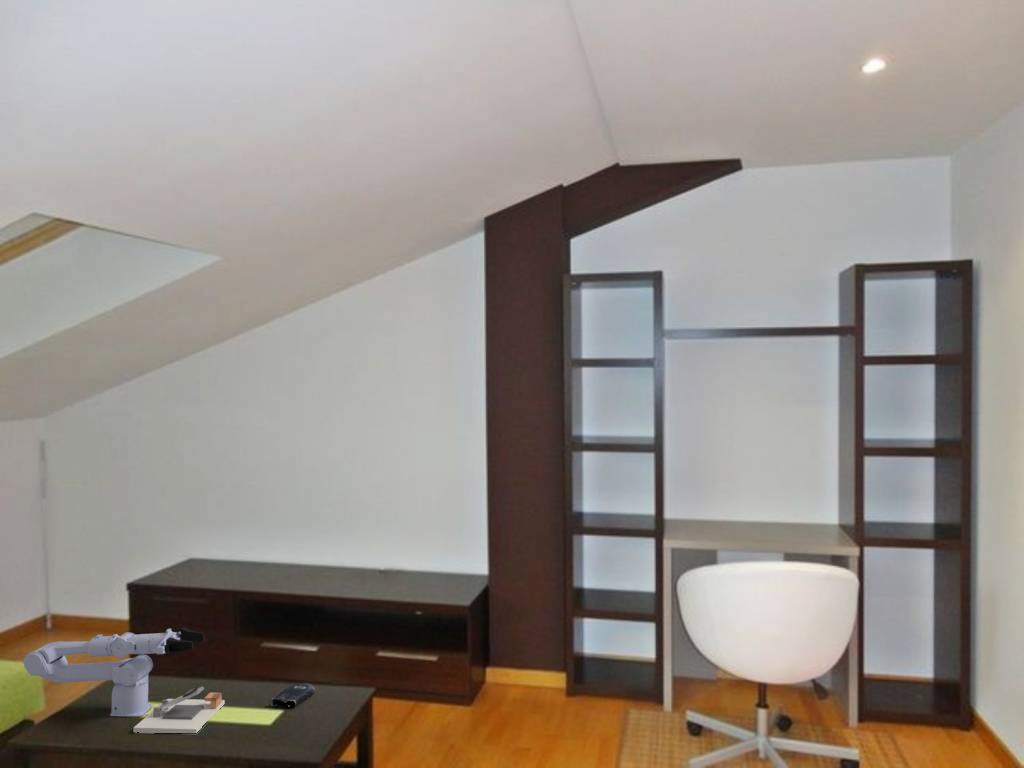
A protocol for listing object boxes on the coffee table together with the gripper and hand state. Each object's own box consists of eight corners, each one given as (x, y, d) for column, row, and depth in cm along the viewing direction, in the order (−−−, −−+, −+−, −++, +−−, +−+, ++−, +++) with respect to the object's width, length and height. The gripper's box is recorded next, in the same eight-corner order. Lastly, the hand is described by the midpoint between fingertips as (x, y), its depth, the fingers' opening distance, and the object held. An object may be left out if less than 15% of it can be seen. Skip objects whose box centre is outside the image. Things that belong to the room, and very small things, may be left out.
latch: (204, 707, 227) (204, 697, 228) (210, 702, 231) (210, 692, 232) (216, 708, 227) (216, 698, 227) (221, 702, 231) (221, 692, 231)
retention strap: (156, 713, 222) (154, 708, 222) (163, 708, 226) (160, 702, 226) (198, 694, 222) (196, 689, 222) (204, 689, 226) (202, 684, 226)
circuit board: (133, 733, 214) (133, 718, 214) (167, 703, 234) (167, 690, 234) (196, 734, 214) (196, 719, 214) (224, 705, 234) (224, 691, 234)
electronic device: (298, 715, 231) (320, 689, 246) (295, 698, 231) (317, 673, 245) (271, 716, 233) (294, 690, 248) (267, 699, 233) (291, 674, 247)
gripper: (140, 637, 221) (186, 635, 221) (164, 622, 236) (207, 620, 235) (142, 662, 221) (188, 659, 221) (166, 645, 236) (209, 643, 235)
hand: (198, 641), depth 228 cm, fingers open, 7 cm apart
